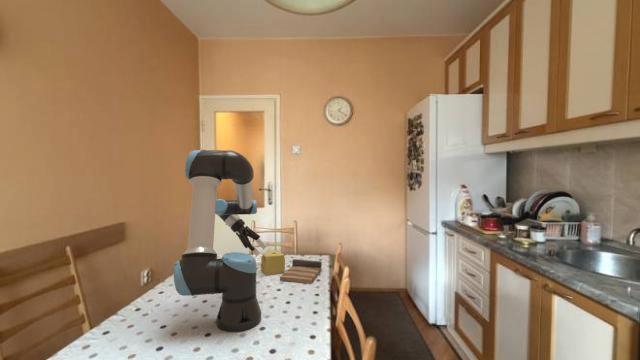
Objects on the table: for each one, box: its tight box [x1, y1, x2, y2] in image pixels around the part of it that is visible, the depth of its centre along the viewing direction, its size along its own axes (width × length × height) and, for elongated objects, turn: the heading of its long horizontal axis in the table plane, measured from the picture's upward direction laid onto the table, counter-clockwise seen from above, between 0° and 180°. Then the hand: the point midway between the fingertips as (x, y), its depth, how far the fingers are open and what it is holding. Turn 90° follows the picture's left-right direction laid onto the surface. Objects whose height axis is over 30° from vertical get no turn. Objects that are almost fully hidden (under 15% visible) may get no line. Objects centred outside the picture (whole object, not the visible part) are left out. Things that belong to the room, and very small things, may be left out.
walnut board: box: [279, 258, 323, 285], centre depth 149 cm, size 20×16×5 cm
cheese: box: [260, 250, 286, 276], centre depth 155 cm, size 10×11×10 cm
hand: (262, 251), depth 156 cm, fingers open, 13 cm apart
